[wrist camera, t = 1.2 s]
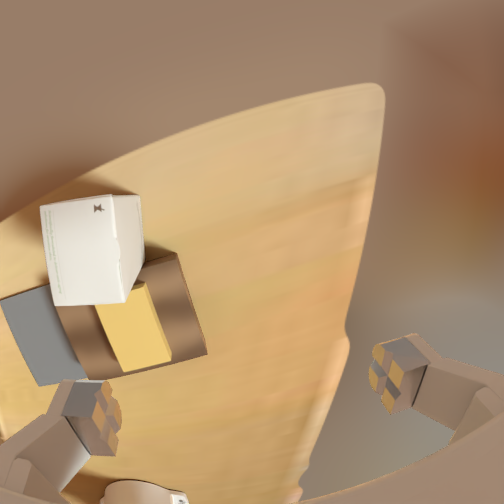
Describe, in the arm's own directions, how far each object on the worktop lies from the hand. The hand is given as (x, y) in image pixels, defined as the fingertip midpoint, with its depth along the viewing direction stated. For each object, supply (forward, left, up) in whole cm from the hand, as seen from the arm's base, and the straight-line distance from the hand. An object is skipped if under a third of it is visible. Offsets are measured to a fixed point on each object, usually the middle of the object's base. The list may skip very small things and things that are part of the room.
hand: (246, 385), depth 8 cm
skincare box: (+4, +9, -30) cm, 32 cm away
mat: (-6, +25, -30) cm, 39 cm away
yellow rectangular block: (-6, +10, -26) cm, 28 cm away
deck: (-6, +11, -30) cm, 32 cm away
